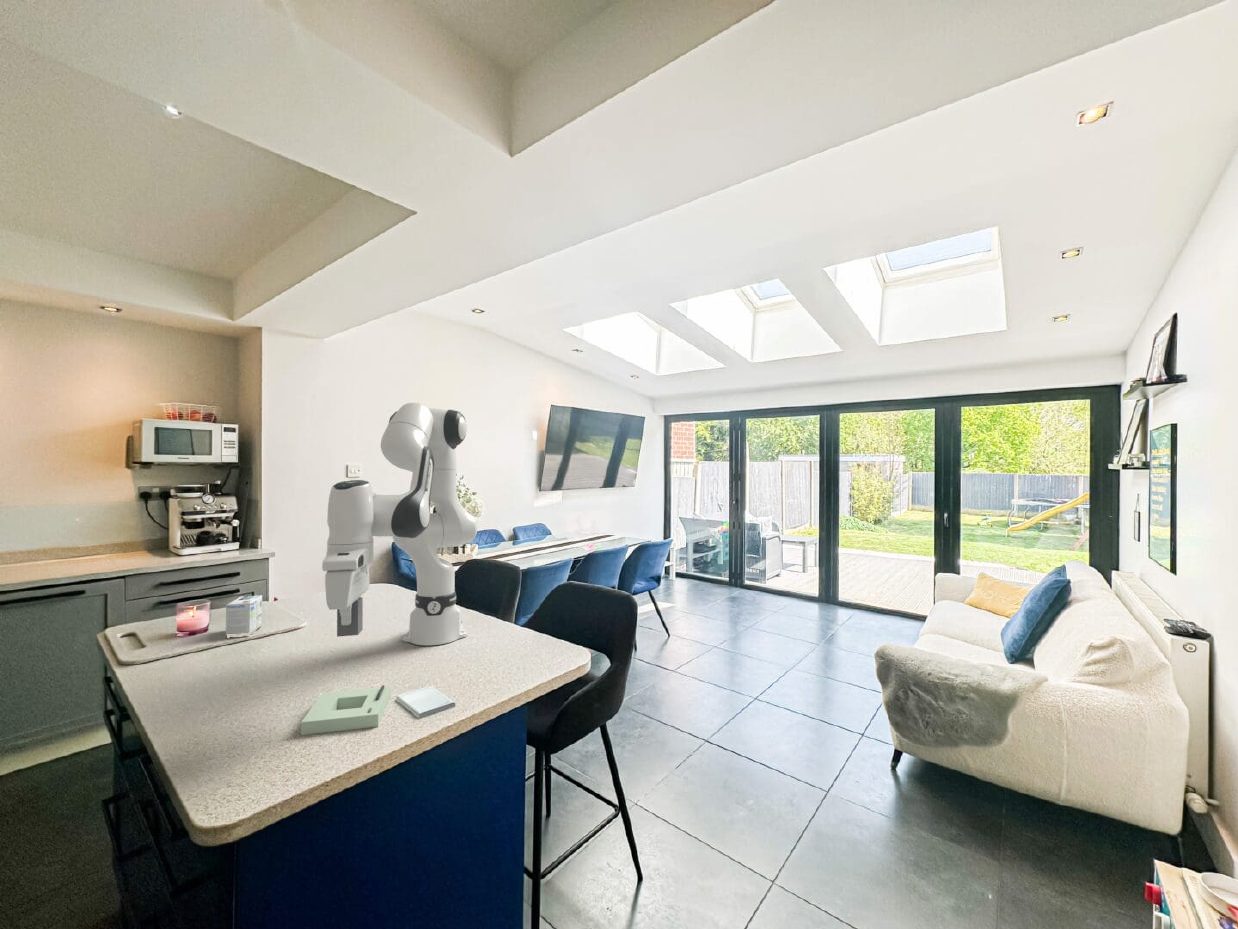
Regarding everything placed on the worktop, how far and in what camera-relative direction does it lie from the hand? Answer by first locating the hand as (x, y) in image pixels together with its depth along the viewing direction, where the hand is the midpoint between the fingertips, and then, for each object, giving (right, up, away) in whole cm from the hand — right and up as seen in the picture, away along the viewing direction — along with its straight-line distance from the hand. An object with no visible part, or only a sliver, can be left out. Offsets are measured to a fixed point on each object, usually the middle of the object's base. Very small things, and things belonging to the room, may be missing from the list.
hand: (350, 621), depth 109 cm
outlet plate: (0, -20, 0) cm, 20 cm away
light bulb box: (-63, -21, +55) cm, 86 cm away
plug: (0, -3, 0) cm, 3 cm away
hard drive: (+14, -21, +5) cm, 26 cm away
